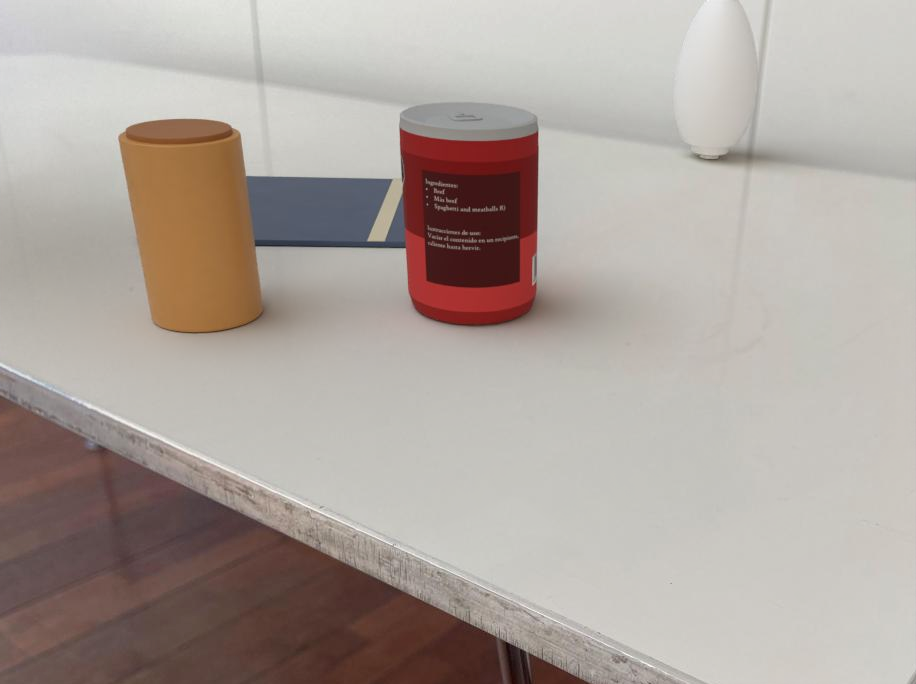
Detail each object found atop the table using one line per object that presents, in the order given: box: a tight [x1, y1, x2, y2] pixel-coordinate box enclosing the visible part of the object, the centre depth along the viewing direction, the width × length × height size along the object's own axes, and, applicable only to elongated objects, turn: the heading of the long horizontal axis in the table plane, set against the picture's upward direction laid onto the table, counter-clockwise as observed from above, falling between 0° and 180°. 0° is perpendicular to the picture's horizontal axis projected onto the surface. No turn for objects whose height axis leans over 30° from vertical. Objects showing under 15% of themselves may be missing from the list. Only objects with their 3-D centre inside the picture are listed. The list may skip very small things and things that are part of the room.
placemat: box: [136, 175, 406, 248], centre depth 76 cm, size 18×18×1 cm
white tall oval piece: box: [672, 0, 759, 160], centre depth 95 cm, size 8×8×18 cm
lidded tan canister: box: [117, 118, 264, 333], centre depth 55 cm, size 6×6×10 cm
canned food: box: [398, 101, 540, 326], centre depth 58 cm, size 8×8×11 cm
